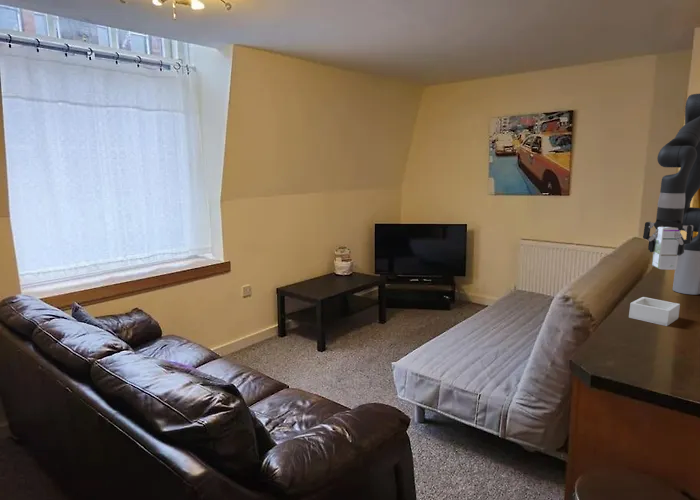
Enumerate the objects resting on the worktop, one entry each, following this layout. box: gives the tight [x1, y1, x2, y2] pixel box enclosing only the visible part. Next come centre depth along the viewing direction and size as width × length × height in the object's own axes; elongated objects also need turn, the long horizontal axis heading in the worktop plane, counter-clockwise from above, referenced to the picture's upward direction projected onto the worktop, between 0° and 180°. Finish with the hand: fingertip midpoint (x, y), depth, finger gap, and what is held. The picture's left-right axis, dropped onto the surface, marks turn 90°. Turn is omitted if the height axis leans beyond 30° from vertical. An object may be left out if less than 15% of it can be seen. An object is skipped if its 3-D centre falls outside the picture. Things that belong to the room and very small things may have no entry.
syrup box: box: [651, 227, 682, 271], centre depth 161 cm, size 6×6×14 cm
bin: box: [628, 296, 681, 327], centre depth 154 cm, size 11×11×5 cm
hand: (665, 253), depth 161 cm, fingers closed on syrup box, 7 cm apart
